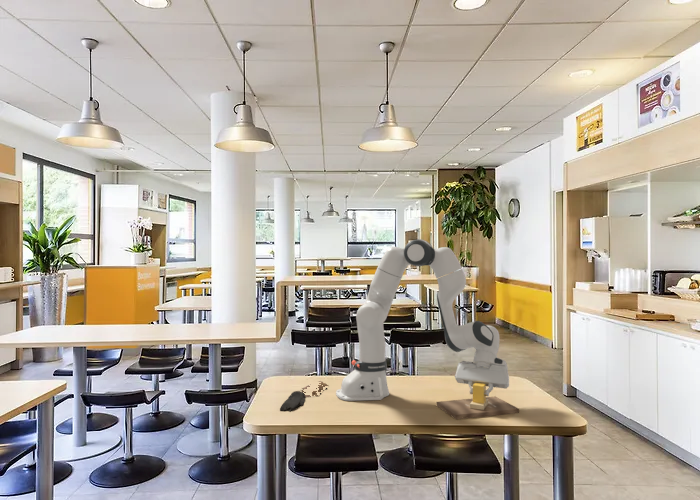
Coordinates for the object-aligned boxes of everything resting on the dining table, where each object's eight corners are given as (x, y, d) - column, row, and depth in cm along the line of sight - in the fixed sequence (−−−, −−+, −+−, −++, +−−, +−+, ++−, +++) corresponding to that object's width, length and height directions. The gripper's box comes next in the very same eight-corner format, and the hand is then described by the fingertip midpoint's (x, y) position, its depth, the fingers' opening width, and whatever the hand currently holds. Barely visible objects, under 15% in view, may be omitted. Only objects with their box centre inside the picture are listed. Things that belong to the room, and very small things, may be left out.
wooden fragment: (318, 399, 202) (318, 396, 202) (292, 397, 205) (292, 395, 205) (334, 383, 227) (334, 380, 227) (311, 381, 230) (311, 379, 230)
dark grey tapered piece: (297, 413, 185) (297, 404, 185) (278, 412, 186) (278, 403, 186) (311, 396, 207) (311, 388, 207) (294, 395, 208) (294, 387, 208)
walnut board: (455, 419, 177) (455, 415, 177) (436, 405, 192) (436, 401, 192) (519, 412, 184) (519, 408, 184) (495, 400, 199) (495, 396, 199)
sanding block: (483, 410, 182) (483, 388, 182) (469, 408, 184) (469, 386, 184) (488, 403, 190) (488, 382, 190) (475, 401, 192) (475, 380, 192)
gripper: (457, 356, 198) (450, 386, 189) (509, 361, 189) (505, 393, 180) (460, 365, 202) (453, 395, 193) (511, 370, 193) (507, 402, 184)
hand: (479, 394), depth 187 cm, fingers closed on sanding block, 4 cm apart
